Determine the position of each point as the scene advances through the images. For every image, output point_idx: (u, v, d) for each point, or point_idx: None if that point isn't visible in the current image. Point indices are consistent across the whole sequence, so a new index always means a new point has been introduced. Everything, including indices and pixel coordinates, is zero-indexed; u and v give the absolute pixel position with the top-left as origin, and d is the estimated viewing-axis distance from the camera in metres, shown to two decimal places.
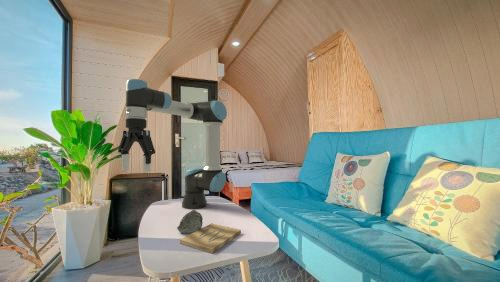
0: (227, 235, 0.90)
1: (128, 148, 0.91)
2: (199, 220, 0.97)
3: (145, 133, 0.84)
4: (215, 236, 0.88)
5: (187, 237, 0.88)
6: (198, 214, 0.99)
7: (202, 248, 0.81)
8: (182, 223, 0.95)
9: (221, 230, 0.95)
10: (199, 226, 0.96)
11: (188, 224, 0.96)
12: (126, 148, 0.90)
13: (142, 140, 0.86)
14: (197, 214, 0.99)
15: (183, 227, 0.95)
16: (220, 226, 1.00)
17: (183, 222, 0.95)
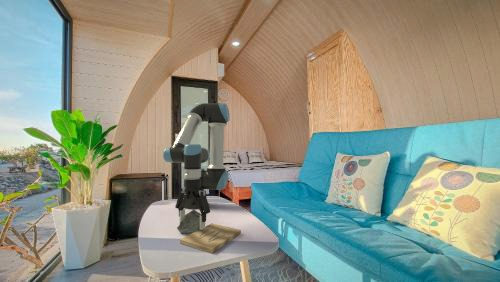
0: (227, 235, 0.90)
1: (184, 204, 1.01)
2: (199, 220, 0.97)
3: (202, 194, 0.95)
4: (215, 236, 0.88)
5: (187, 237, 0.88)
6: (198, 214, 0.99)
7: (202, 248, 0.81)
8: (182, 223, 0.95)
9: (221, 230, 0.95)
10: (199, 226, 0.96)
11: (188, 224, 0.96)
12: (183, 204, 1.01)
13: (198, 199, 0.97)
14: (197, 214, 0.99)
15: (183, 227, 0.95)
16: (220, 226, 1.00)
17: (183, 222, 0.95)
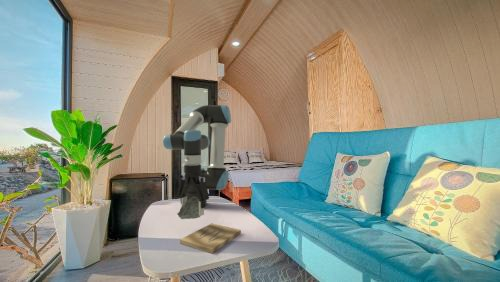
0: (227, 235, 0.90)
1: (186, 191, 1.02)
2: None
3: (203, 181, 0.95)
4: (215, 236, 0.88)
5: (187, 237, 0.88)
6: (198, 201, 1.00)
7: (202, 248, 0.81)
8: (182, 209, 0.96)
9: (221, 230, 0.95)
10: None
11: (188, 210, 0.97)
12: (185, 191, 1.01)
13: (198, 185, 0.97)
14: (197, 201, 0.99)
15: (184, 213, 0.96)
16: (220, 226, 1.00)
17: (183, 208, 0.96)
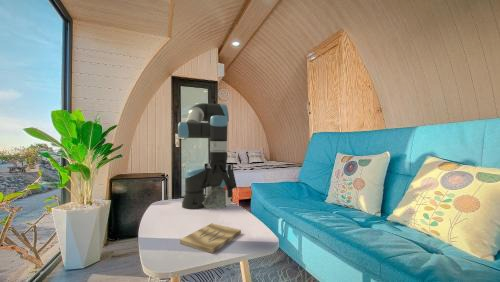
0: (227, 235, 0.90)
1: (211, 180, 0.97)
2: None
3: (230, 168, 0.91)
4: (215, 236, 0.88)
5: (187, 237, 0.88)
6: (224, 190, 0.95)
7: (202, 248, 0.81)
8: (208, 198, 0.91)
9: (221, 230, 0.95)
10: None
11: (214, 200, 0.91)
12: (209, 180, 0.96)
13: (225, 173, 0.93)
14: (223, 190, 0.94)
15: (210, 202, 0.91)
16: (220, 226, 1.00)
17: (209, 197, 0.91)
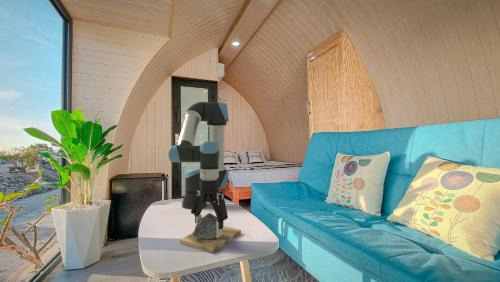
0: (227, 235, 0.90)
1: (201, 209, 0.91)
2: None
3: (221, 198, 0.85)
4: None
5: (187, 237, 0.88)
6: (215, 218, 0.89)
7: (202, 248, 0.81)
8: (198, 228, 0.86)
9: None
10: None
11: (204, 230, 0.86)
12: (200, 209, 0.90)
13: (216, 203, 0.87)
14: (214, 218, 0.89)
15: (200, 233, 0.85)
16: None
17: (199, 227, 0.86)
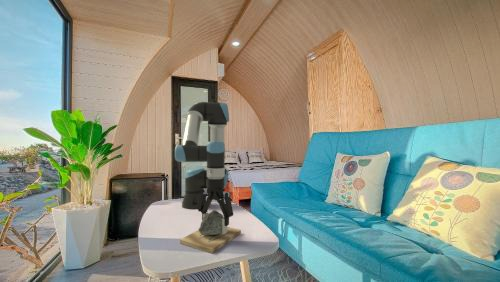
0: (227, 235, 0.90)
1: (208, 206, 0.95)
2: None
3: (227, 196, 0.89)
4: (215, 236, 0.88)
5: (187, 237, 0.88)
6: (220, 215, 0.93)
7: (202, 248, 0.81)
8: (204, 224, 0.89)
9: None
10: None
11: (210, 226, 0.89)
12: (206, 207, 0.94)
13: (222, 201, 0.91)
14: (219, 215, 0.92)
15: (206, 228, 0.88)
16: None
17: (205, 223, 0.89)
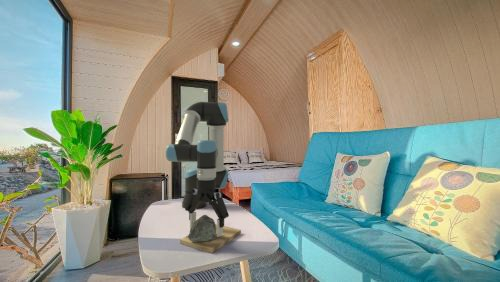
0: (227, 235, 0.90)
1: (196, 206, 0.90)
2: (213, 226, 0.86)
3: (219, 196, 0.84)
4: (215, 236, 0.88)
5: (187, 237, 0.88)
6: (211, 219, 0.88)
7: (202, 248, 0.81)
8: (194, 231, 0.83)
9: None
10: (213, 233, 0.85)
11: (200, 232, 0.84)
12: (194, 207, 0.90)
13: (214, 202, 0.85)
14: (210, 220, 0.87)
15: (195, 235, 0.83)
16: None
17: (195, 229, 0.84)
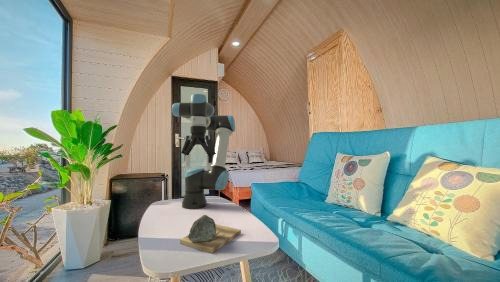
0: (227, 235, 0.90)
1: (190, 150, 1.11)
2: (213, 226, 0.86)
3: (208, 138, 1.04)
4: (215, 236, 0.88)
5: (187, 237, 0.88)
6: (211, 219, 0.88)
7: (202, 248, 0.81)
8: (194, 231, 0.83)
9: (221, 230, 0.95)
10: (213, 233, 0.85)
11: (200, 232, 0.84)
12: (189, 150, 1.10)
13: (204, 143, 1.06)
14: (210, 220, 0.87)
15: (195, 235, 0.83)
16: (220, 226, 1.00)
17: (195, 229, 0.84)
